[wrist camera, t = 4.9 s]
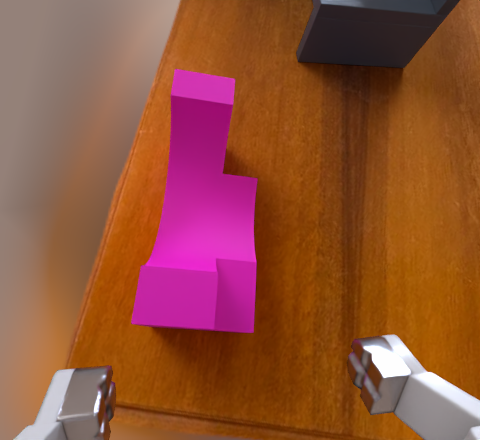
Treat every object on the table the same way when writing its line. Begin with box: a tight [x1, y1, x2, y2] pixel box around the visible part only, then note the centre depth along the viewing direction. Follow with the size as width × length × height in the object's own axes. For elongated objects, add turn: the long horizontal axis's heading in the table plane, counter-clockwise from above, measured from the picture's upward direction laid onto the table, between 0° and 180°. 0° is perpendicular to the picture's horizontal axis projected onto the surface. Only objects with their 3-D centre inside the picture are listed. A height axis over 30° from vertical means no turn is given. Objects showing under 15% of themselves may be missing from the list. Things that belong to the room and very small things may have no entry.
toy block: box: [131, 69, 258, 333], centre depth 21 cm, size 15×6×8 cm, turn 177°
